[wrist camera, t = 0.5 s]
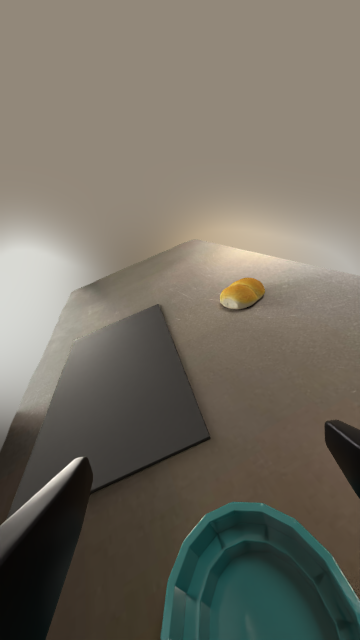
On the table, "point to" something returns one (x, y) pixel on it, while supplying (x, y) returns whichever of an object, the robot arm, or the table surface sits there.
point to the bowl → (257, 582)
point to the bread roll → (242, 293)
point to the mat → (116, 406)
